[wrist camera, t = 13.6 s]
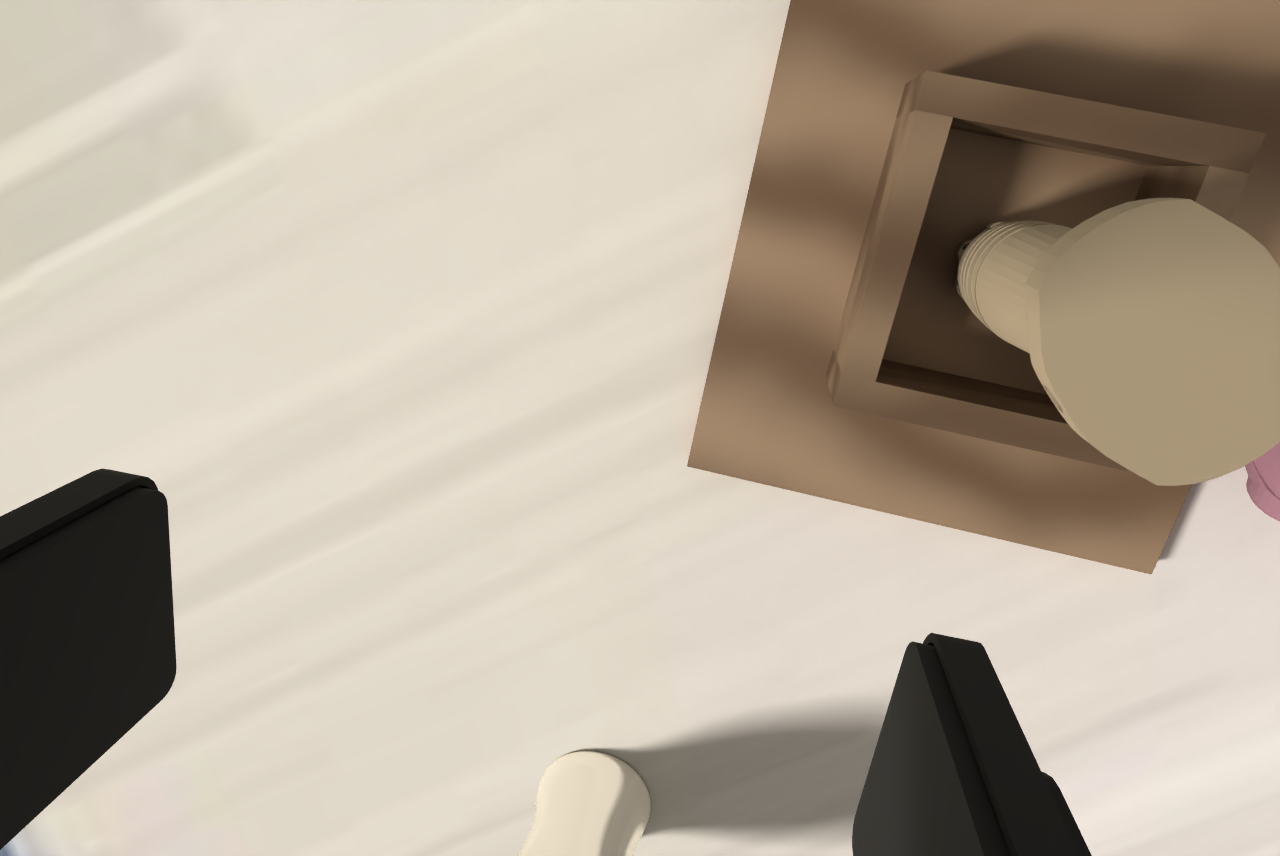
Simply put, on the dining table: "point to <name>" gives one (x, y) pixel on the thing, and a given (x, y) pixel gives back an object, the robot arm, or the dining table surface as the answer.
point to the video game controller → (1265, 482)
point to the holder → (954, 212)
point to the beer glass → (588, 808)
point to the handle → (1141, 331)
